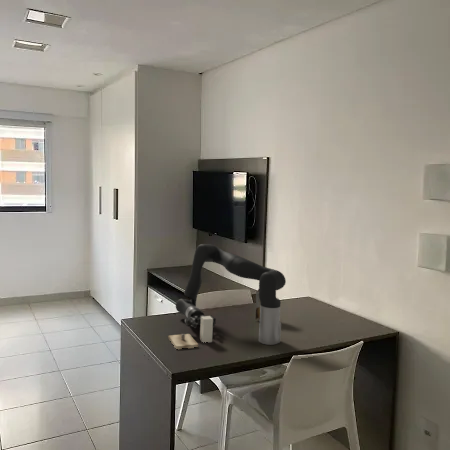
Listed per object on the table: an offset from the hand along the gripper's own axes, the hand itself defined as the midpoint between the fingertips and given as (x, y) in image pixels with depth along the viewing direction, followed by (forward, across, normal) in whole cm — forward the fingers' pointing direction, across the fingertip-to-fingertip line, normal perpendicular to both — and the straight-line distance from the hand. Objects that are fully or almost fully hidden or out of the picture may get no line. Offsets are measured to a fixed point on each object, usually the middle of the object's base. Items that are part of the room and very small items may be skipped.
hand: (204, 325), depth 220 cm
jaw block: (+3, 0, +6) cm, 7 cm away
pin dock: (+3, -11, +6) cm, 13 cm away
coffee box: (-19, +40, +7) cm, 45 cm away
